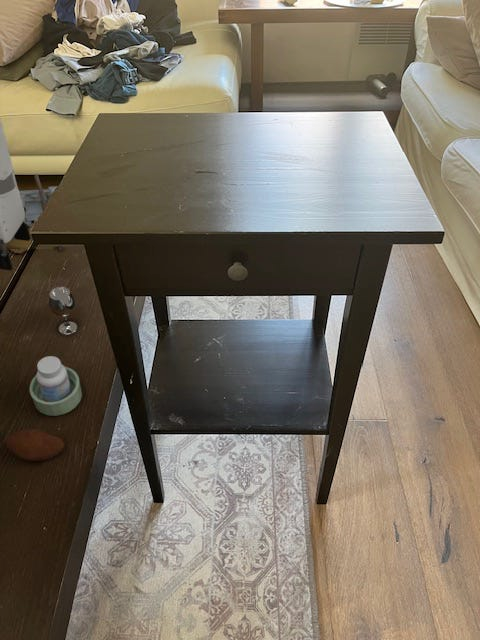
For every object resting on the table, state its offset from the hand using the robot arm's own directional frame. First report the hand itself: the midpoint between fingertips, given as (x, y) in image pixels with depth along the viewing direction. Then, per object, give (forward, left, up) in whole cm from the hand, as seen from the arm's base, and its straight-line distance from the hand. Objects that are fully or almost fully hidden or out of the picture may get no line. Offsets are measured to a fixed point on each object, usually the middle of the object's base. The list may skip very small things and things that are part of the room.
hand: (14, 253), depth 102 cm
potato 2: (+9, -30, -27) cm, 41 cm away
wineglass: (+5, +5, -27) cm, 28 cm away
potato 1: (-12, +32, -25) cm, 42 cm away
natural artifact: (-7, +42, -15) cm, 46 cm away
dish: (+9, -16, -27) cm, 33 cm away
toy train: (-17, +43, -20) cm, 51 cm away
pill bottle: (+9, -16, -27) cm, 33 cm away
